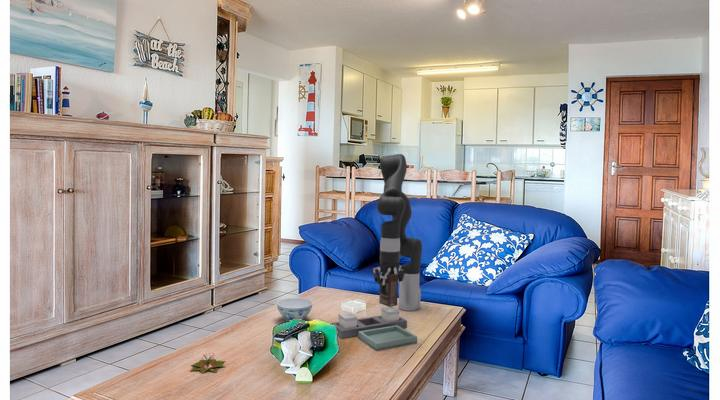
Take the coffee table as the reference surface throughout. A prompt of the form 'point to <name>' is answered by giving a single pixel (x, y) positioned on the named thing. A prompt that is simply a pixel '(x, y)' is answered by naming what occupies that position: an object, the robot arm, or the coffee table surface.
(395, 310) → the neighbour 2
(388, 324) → the slot holder
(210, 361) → the lily flower
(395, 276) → the box
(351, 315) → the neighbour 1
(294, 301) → the chinaware
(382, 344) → the tray
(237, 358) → the coffee table surface
